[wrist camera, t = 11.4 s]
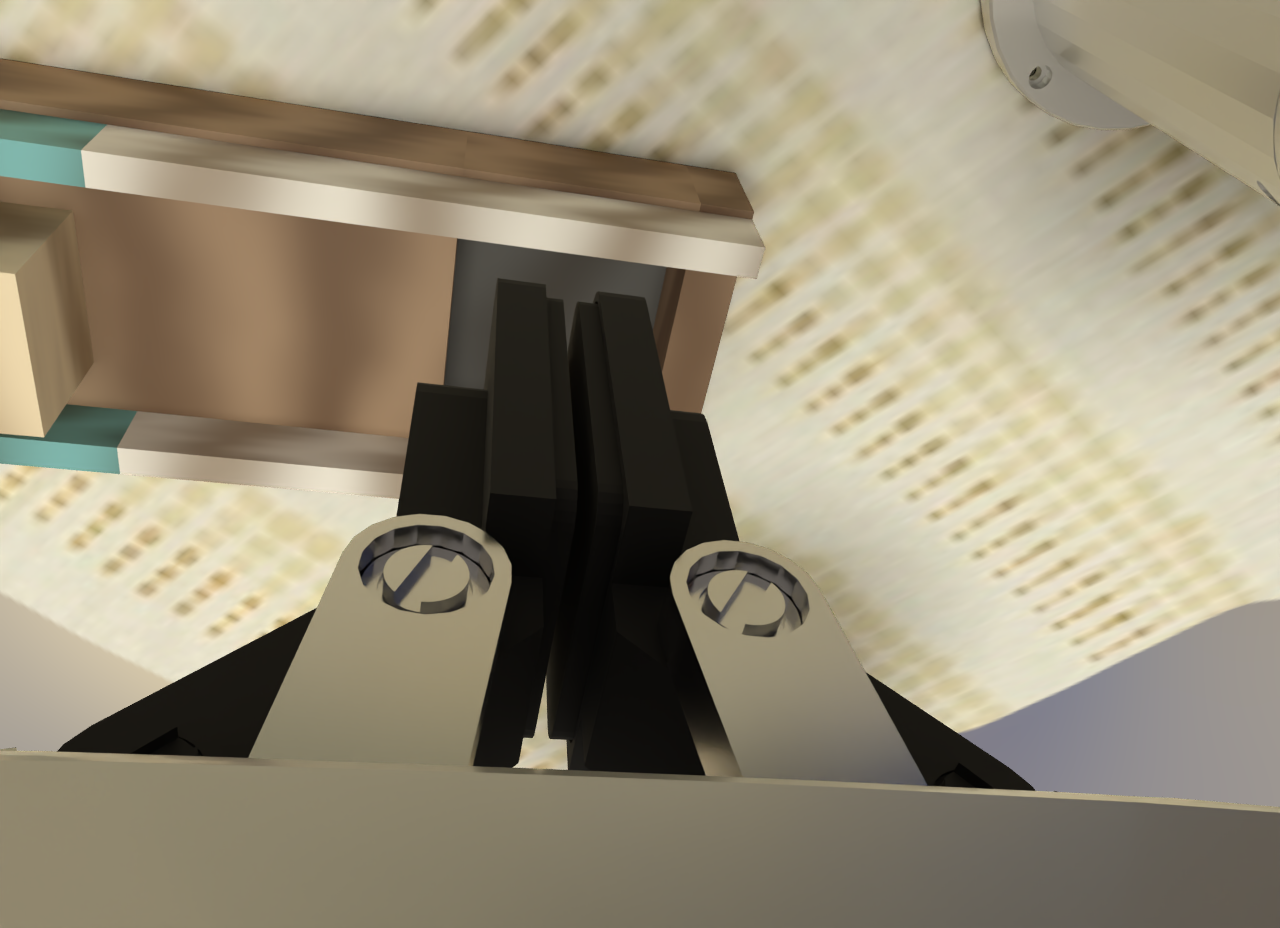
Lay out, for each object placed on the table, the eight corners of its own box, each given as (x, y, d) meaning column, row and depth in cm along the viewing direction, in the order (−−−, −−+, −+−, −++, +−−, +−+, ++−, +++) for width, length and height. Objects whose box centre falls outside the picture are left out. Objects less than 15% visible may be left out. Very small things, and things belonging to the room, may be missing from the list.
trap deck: (735, 173, 41) (767, 239, 35) (668, 441, 48) (687, 530, 43) (-173, 31, 35) (-296, 86, 30) (-92, 363, 42) (-179, 453, 37)
